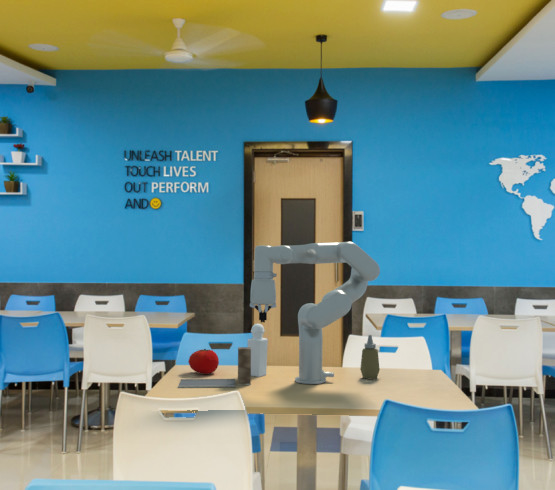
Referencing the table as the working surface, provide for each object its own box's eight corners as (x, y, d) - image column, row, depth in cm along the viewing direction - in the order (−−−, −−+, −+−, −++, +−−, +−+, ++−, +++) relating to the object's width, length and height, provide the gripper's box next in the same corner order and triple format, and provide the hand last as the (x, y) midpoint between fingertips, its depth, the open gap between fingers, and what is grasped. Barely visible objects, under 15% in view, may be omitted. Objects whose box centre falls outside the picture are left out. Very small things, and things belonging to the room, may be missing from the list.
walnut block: (250, 382, 235) (250, 347, 235) (250, 384, 230) (250, 349, 230) (237, 382, 234) (238, 347, 235) (237, 384, 229) (238, 349, 230)
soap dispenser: (259, 377, 245) (260, 324, 246) (246, 375, 248) (247, 323, 249) (267, 374, 251) (268, 323, 251) (255, 373, 254) (255, 322, 255)
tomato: (224, 373, 253) (225, 349, 253) (203, 377, 244) (203, 352, 244) (204, 369, 262) (204, 345, 262) (182, 373, 252) (183, 348, 253)
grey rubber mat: (235, 380, 239) (235, 378, 239) (235, 387, 225) (235, 385, 225) (180, 380, 237) (181, 379, 237) (177, 387, 223) (177, 386, 223)
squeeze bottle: (358, 379, 243) (358, 335, 243) (362, 375, 250) (362, 333, 251) (377, 380, 240) (377, 336, 240) (381, 377, 247) (381, 334, 248)
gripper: (281, 276, 238) (280, 321, 238) (244, 275, 237) (243, 321, 236) (282, 276, 231) (282, 323, 230) (245, 276, 230) (244, 323, 229)
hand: (262, 322), depth 233 cm, fingers closed
